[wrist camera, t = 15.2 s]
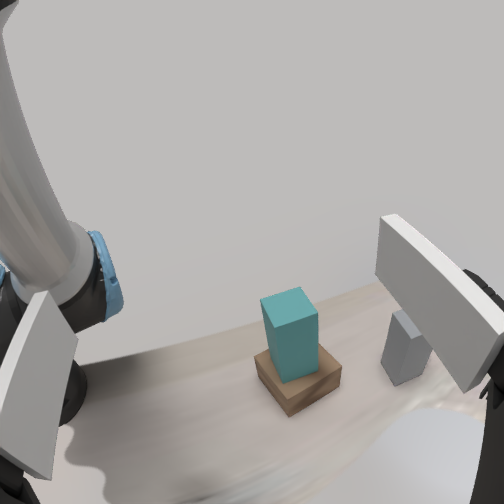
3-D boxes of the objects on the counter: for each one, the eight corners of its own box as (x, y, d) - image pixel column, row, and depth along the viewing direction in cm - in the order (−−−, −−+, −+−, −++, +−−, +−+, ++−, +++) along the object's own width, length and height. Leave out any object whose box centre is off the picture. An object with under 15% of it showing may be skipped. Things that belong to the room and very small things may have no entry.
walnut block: (289, 417, 35) (287, 399, 33) (258, 377, 42) (253, 356, 39) (339, 386, 38) (342, 365, 35) (305, 351, 44) (304, 329, 42)
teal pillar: (282, 383, 35) (274, 327, 29) (270, 356, 39) (260, 299, 33) (318, 370, 35) (318, 312, 30) (303, 345, 39) (299, 286, 34)
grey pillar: (394, 386, 36) (411, 338, 31) (380, 362, 40) (392, 312, 34) (421, 374, 36) (441, 325, 31) (406, 351, 40) (421, 302, 35)
